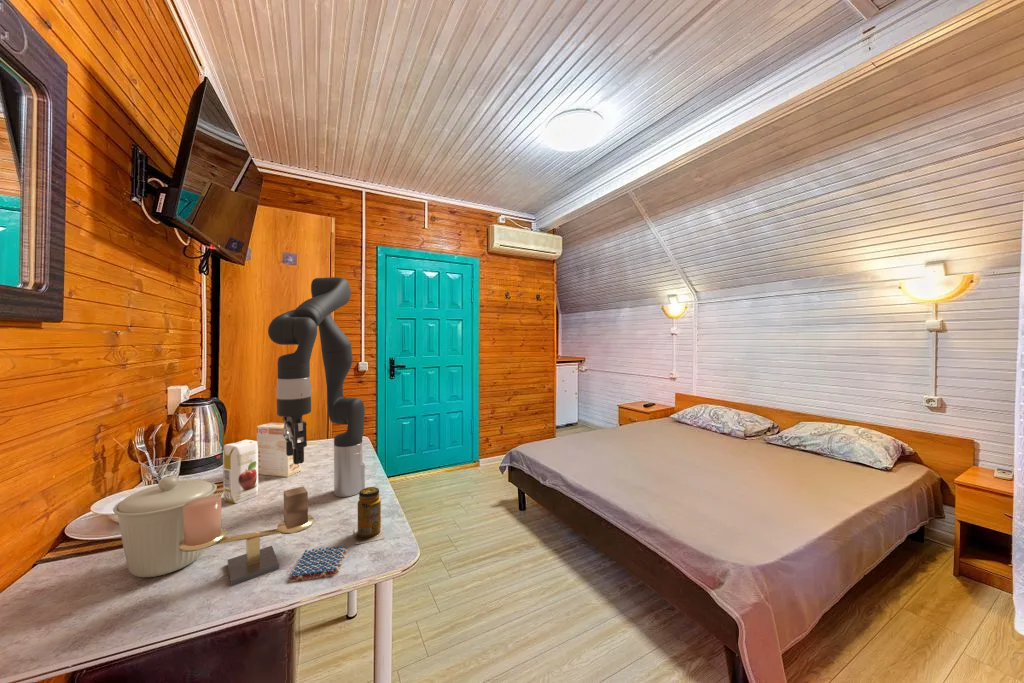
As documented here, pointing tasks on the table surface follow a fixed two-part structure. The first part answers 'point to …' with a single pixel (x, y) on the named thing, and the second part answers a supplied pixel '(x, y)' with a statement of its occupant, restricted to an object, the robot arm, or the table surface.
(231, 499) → the juice carton
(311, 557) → the woven mat
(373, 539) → the condiment
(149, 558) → the canister
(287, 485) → the table surface
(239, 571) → the balance
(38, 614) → the table surface
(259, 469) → the coffeecake box
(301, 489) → the block
